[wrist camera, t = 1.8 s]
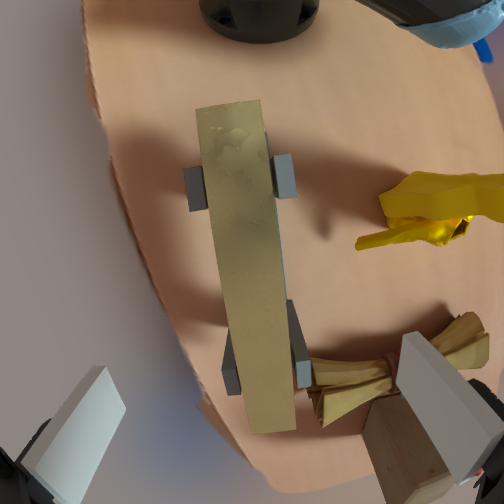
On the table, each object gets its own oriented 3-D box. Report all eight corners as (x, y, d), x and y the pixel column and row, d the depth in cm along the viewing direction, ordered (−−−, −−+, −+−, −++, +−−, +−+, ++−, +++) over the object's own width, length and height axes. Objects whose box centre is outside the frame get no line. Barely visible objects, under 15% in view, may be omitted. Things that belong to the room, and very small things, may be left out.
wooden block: (371, 397, 38) (414, 491, 19) (420, 386, 38) (473, 464, 19) (359, 434, 41) (389, 519, 21) (405, 423, 41) (443, 497, 21)
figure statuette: (351, 257, 33) (462, 353, 12) (329, 197, 32) (450, 222, 10) (455, 208, 31) (581, 239, 10) (440, 153, 30) (572, 148, 8)
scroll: (306, 395, 38) (316, 444, 29) (299, 346, 36) (311, 394, 26) (455, 348, 37) (486, 378, 27) (462, 299, 35) (500, 325, 25)
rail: (208, 125, 21) (195, 109, 16) (258, 117, 20) (259, 99, 15) (252, 399, 26) (251, 434, 21) (291, 395, 26) (296, 429, 21)
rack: (206, 141, 30) (176, 115, 18) (271, 132, 30) (282, 98, 17) (240, 353, 36) (235, 423, 24) (296, 347, 36) (311, 415, 23)
